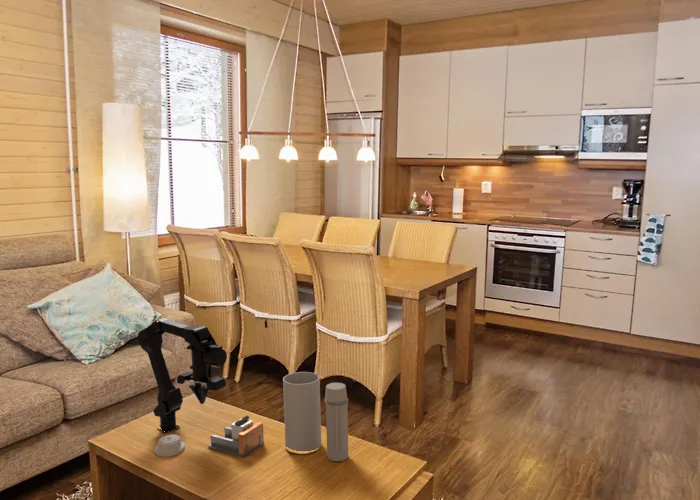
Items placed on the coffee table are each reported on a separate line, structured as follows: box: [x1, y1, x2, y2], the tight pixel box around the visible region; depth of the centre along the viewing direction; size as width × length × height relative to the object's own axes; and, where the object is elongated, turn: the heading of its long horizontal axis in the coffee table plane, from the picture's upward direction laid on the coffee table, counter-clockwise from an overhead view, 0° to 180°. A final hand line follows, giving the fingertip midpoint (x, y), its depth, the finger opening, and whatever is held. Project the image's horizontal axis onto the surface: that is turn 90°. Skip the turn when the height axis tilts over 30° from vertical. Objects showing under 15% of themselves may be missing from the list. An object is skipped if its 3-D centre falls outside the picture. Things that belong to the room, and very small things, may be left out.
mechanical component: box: [154, 434, 186, 457], centre depth 196 cm, size 10×4×10 cm
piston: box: [230, 415, 254, 441], centre depth 195 cm, size 5×6×9 cm
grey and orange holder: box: [207, 421, 265, 459], centre depth 197 cm, size 16×11×8 cm
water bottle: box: [324, 382, 349, 463], centre depth 185 cm, size 9×8×25 cm
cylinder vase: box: [282, 371, 322, 451], centre depth 194 cm, size 12×12×25 cm
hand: (202, 403), depth 203 cm, fingers closed
